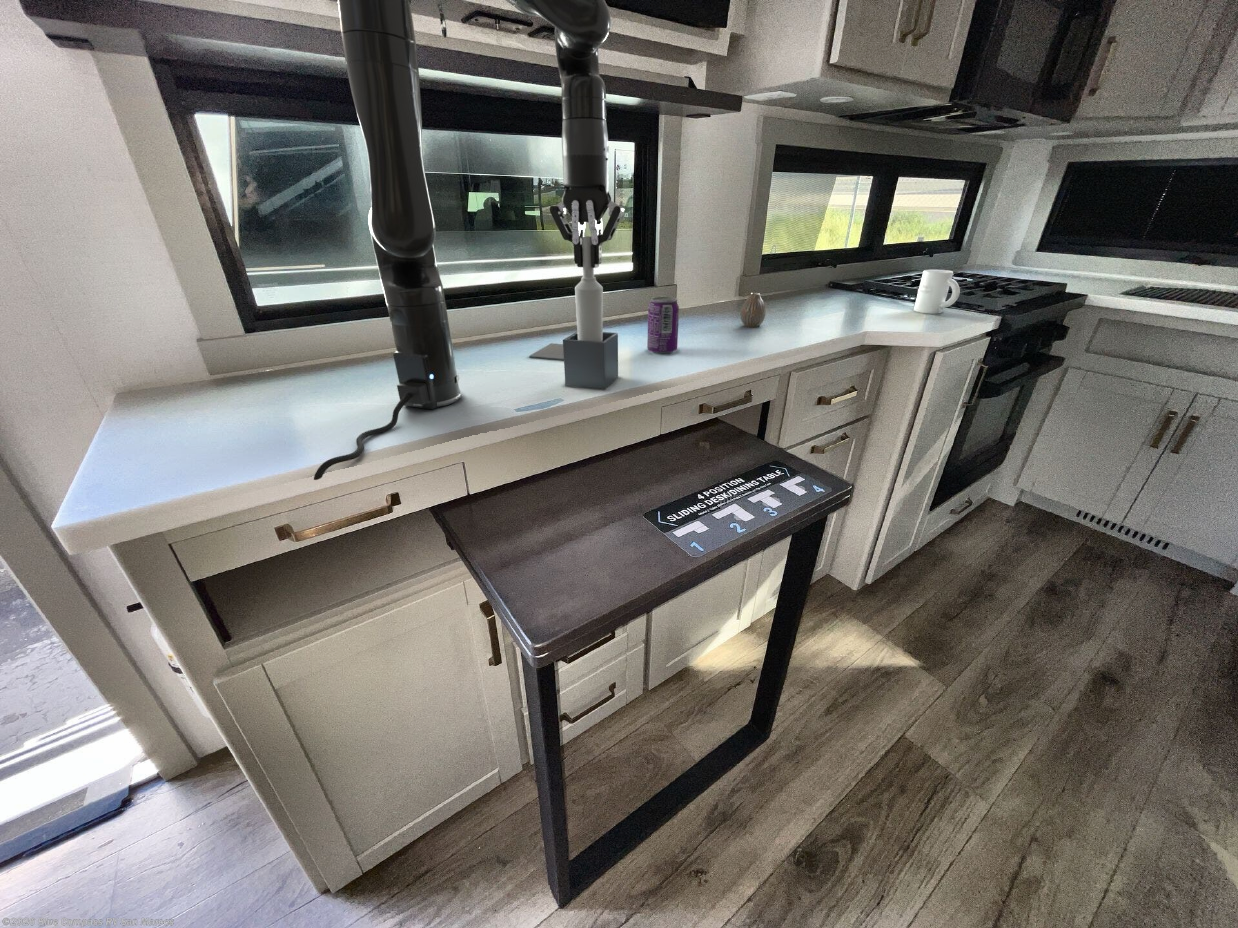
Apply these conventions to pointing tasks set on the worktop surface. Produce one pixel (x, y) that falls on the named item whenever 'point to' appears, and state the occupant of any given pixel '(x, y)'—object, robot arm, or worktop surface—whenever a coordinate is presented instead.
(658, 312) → the beverage can
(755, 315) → the vase
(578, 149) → the robot arm
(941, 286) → the mug
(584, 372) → the caddy
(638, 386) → the worktop surface
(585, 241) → the bottle
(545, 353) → the coaster
